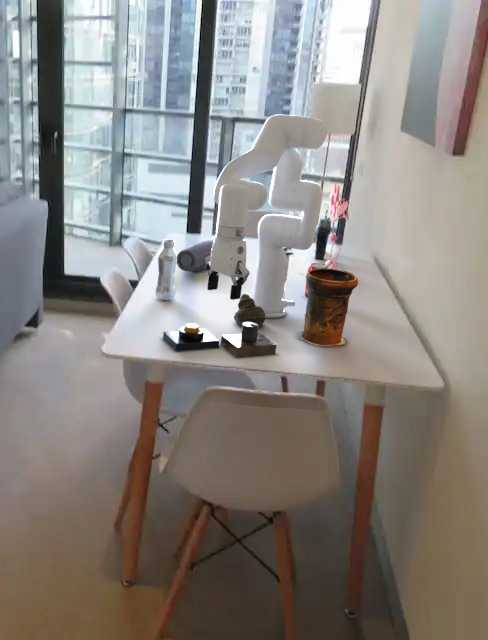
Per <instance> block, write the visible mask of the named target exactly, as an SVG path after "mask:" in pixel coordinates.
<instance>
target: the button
mask: <svg viewBox="0 0 488 640" xmlns="http://www.w3.org/2000/svg"><path fill="white" fill-rule="evenodd" d="M184 326H185V332H188V333H198V332H199V328H200V325H199V324H197V323H192V322H191V323H189V322H188V323H186V324H185V325H184Z"/></svg>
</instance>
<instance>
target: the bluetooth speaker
mask: <svg viewBox="0 0 488 640" xmlns="http://www.w3.org/2000/svg"><path fill="white" fill-rule="evenodd" d="M213 241H214V239H213V240H212V239H207V240H204V241H200V242H197V243H194V244H191V245H190V246H187V247H186V248H183V249H181V251H180V252H178V254H177V262H176V266H177V268H178V269H180V270H181V271H184V272H194V273H195V272H199V271H200V270H203V269H205V268H206V265H207V264H206V261H205V257H208V256H210V255H211V251H212V246H213Z"/></svg>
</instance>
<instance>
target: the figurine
mask: <svg viewBox="0 0 488 640" xmlns="http://www.w3.org/2000/svg"><path fill="white" fill-rule="evenodd" d="M329 194H330V195H329V209H328V213H329V216H331V215H332V218H333V221H332V234H331V235H330V237H329V241H330V242H332V245H331V250H330V254H329V259H328V260H327V261H326V262H325V263H324V264H326V265H327V266H328V265H329V264H330V266H328V269H335V270H338V264H337V260H338V257H339V254H340V251H341V247H340V245H339V244H338V243H337V242H336V241H337V240H338V236H337V235H336V234H335V222H336V221H338V220H341V219H342V218H343V219H345V221H348V222H349V220H350V219H349V200H346V198H344V197H343V198H341V199H340V197H339V196H340V185H339V184H337V185H336V183H333V187H332V192H331V193H329ZM341 203H342V204H341ZM345 212H346V213H345ZM335 217H336V219H335ZM334 244H335V245H336V246H337V248H339V249H338V252H337V254H336V258H335V260H334V263H333V261H332V260H333V259H334V258H333V257H332V253H333V248H334ZM300 274H301V275H303V276H304V274H303V273H302V272H300Z"/></svg>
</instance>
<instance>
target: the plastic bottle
mask: <svg viewBox="0 0 488 640" xmlns="http://www.w3.org/2000/svg"><path fill="white" fill-rule="evenodd" d="M174 247H175V240H173V239H163V240H162V247H161V249H160V250H159V252H158V253H157V272H158V273H157V281H156V286H155V297H156V298H157V299H158V300H161V301H171V300H173V299H174V298H175V296H176V286H175V274H176V267H177V255H178V254H177V252H176V250H175V248H174Z"/></svg>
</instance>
